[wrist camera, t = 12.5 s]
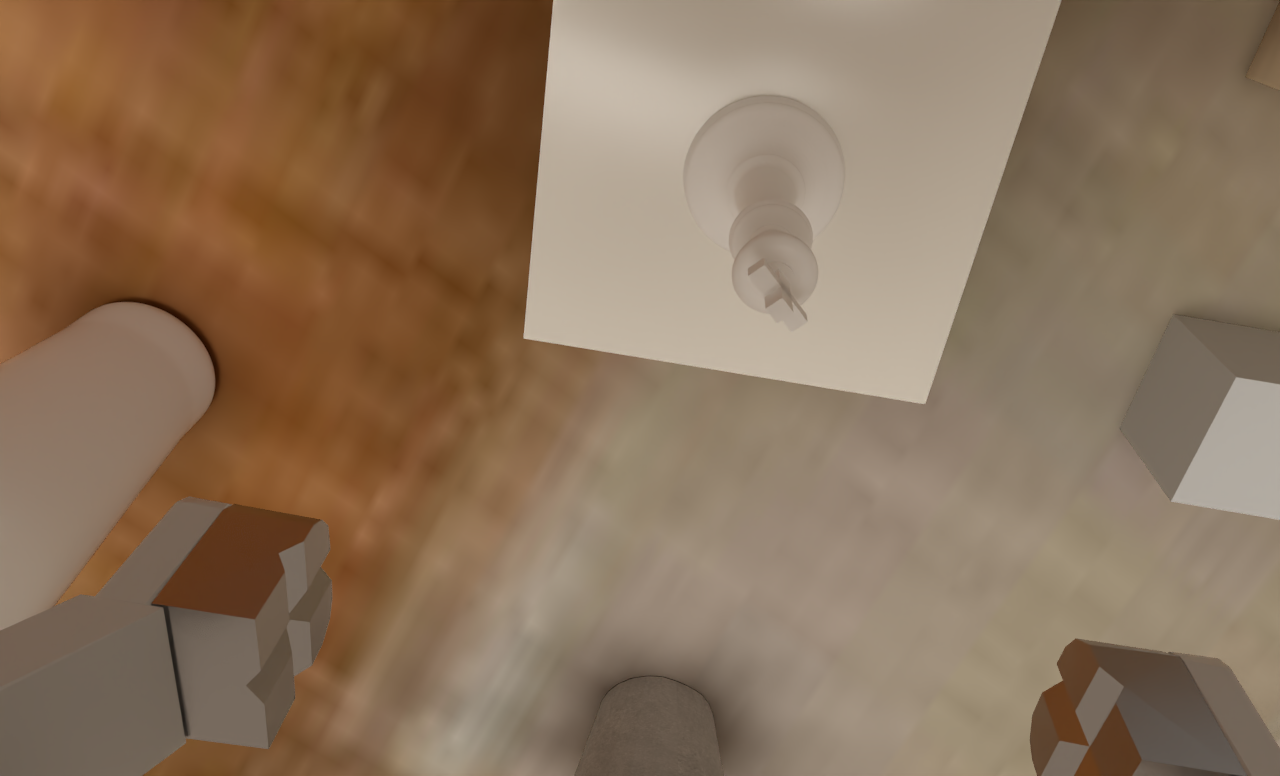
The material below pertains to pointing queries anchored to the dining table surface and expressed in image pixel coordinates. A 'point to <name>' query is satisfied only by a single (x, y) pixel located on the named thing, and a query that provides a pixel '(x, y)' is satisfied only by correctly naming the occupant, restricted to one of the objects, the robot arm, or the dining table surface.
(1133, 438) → the grey block
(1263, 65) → the birch block
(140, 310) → the drinking glass
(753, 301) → the chess piece
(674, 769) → the house plant
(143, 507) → the dining table surface
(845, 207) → the ceramic tile
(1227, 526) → the dining table surface
